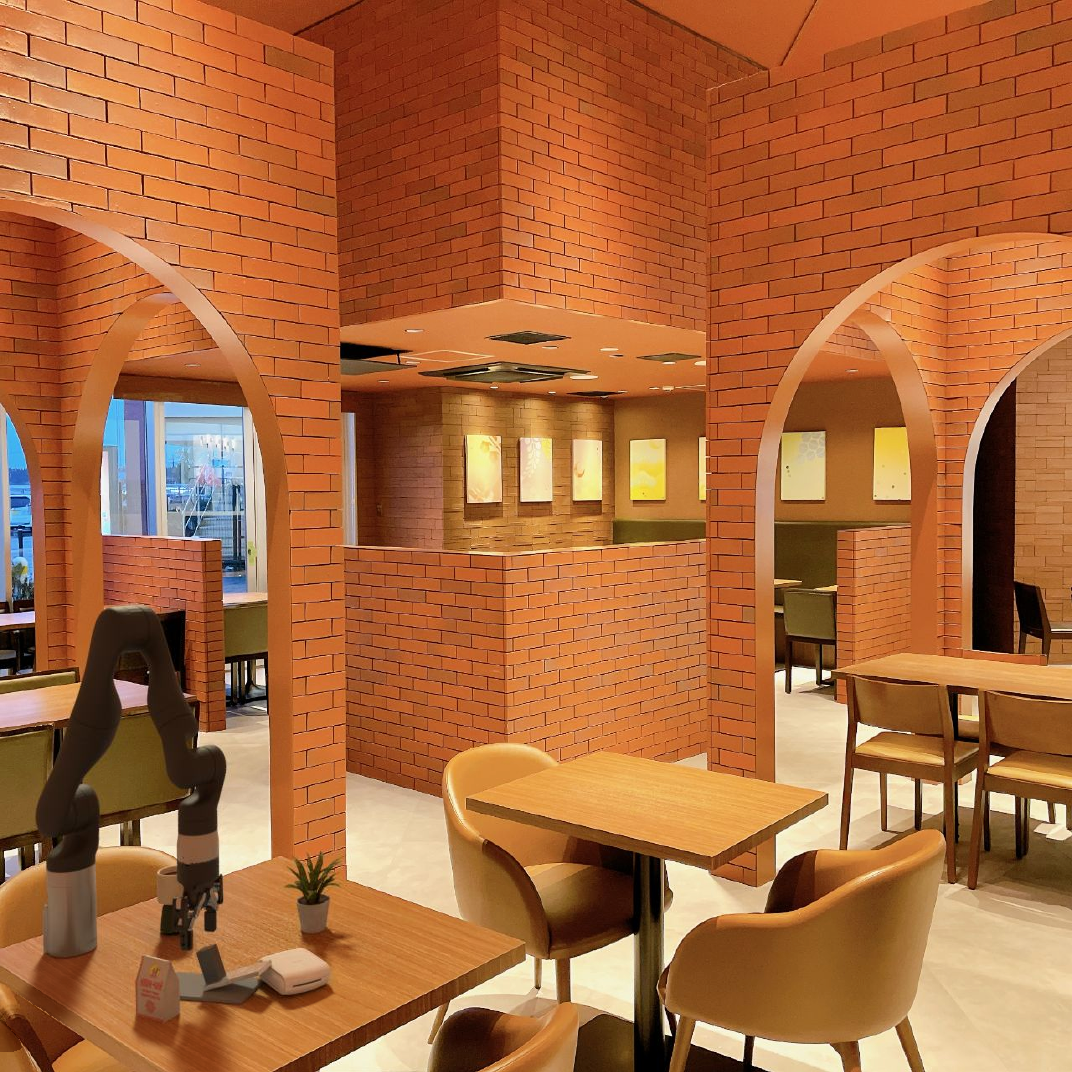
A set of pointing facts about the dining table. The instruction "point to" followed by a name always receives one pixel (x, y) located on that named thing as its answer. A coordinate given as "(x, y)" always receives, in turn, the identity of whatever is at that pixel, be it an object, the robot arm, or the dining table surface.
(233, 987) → the mat
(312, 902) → the house plant
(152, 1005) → the tea bag
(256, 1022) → the dining table surface
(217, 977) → the grey l-shaped piece
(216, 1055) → the dining table surface
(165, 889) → the character mug
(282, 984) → the photo printer
